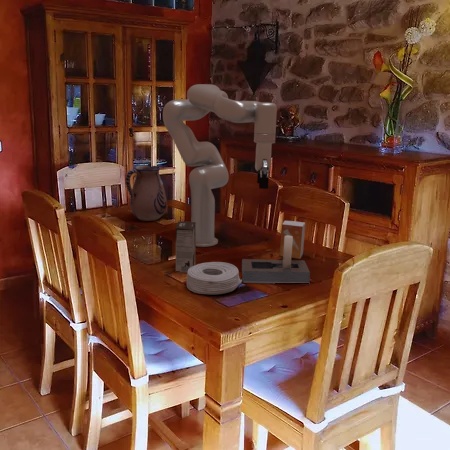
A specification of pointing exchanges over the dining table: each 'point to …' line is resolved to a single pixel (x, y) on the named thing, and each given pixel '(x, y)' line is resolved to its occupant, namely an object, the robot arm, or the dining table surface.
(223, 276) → the cable
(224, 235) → the dining table surface
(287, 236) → the peg
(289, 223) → the small box
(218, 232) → the dining table surface
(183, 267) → the coffee box
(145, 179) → the ceramic pitcher
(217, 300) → the dining table surface
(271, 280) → the rail
